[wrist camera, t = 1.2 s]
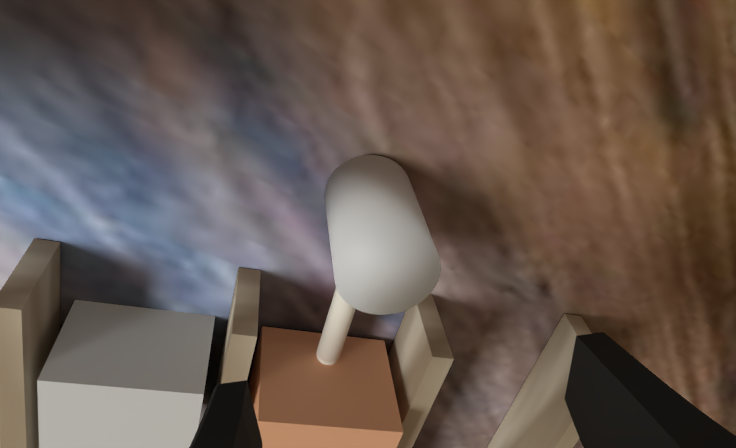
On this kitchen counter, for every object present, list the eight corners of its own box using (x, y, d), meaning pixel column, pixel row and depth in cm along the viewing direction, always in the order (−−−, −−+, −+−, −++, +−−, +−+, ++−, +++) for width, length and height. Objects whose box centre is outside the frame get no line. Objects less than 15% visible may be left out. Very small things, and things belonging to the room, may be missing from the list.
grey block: (215, 313, 22) (203, 394, 19) (200, 401, 25) (187, 486, 21) (76, 297, 21) (36, 380, 18) (74, 391, 24) (40, 480, 20)
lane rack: (580, 315, 25) (641, 410, 20) (486, 475, 30) (519, 575, 26) (34, 238, 19) (-34, 343, 15) (38, 447, 25) (-11, 567, 21)
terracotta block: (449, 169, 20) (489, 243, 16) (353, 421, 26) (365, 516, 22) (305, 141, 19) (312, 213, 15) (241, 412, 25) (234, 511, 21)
